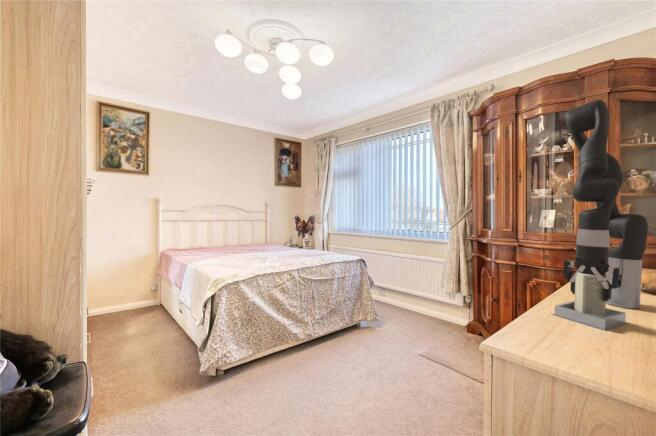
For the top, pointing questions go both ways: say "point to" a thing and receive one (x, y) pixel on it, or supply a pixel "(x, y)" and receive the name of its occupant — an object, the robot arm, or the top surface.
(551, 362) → the top surface
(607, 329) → the slate base plate
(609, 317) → the shallow grey tray
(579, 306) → the skincare box
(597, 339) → the top surface
